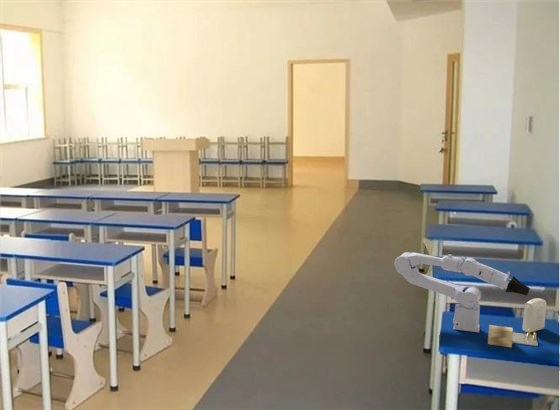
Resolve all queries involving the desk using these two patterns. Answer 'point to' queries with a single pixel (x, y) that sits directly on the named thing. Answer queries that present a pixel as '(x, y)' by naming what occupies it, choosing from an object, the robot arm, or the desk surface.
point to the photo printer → (534, 315)
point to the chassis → (525, 338)
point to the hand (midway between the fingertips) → (528, 291)
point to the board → (500, 336)
